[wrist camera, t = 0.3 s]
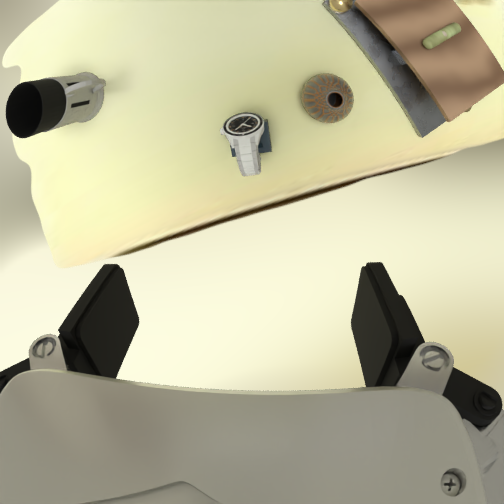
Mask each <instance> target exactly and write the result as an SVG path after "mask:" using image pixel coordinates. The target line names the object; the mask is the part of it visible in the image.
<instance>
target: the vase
mask: <svg viewBox="0 0 504 504" xmlns="http://www.w3.org/2000/svg"><path fill="white" fill-rule="evenodd" d="M353 102H354V98H353V93H352V90H351V88H350V86H349V85H348V84H347V83H346V82H345V81H344V80H343V79H342V78H340V77H338V76H336V75H333V74H319V75H316V76H314V77H312V78H311V79H310V80H308V81H307V83H306V84H305V86H304V87H303V90H302V103H303V106H304V108H305V110H306V111H307V113H308V114H309V115H310V116H311V117H313V118H314V119H316V120H318V121H321V122H325V123H334V122H338V121H340V120H342V119H344V118H345V117H346V116H347V115H348V114H349V113H350V111H351V109H352V107H353Z"/></svg>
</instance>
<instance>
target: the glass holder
mask: <svg viewBox="0 0 504 504" xmlns="http://www.w3.org/2000/svg"><path fill="white" fill-rule="evenodd" d="M105 85H106V83H105V80H104V79H99V78H98V77H97V76H95V75H94V74H92V73H88V72H83V73H79V74H77V75H74V76H62V77H51V78H44V79H41V80H36V81H29V82H23V83H21V84H19V85H17V86H16V87H15V88H14V89H13V91H12V92H11V94H10V96H9V98H8V101H7V105H6V119H7V124H8V126H9V128H10V130H11V132H12V133H13V134H14V135H15V136H17V137H19V138H27V137H30V136H33V135H35V134H38V133H41V132H47V131H50V130H53V129H56V128H59V127H62V126H65V125H68V124H71V123H74V122H86V121H89V120H91V119H92V118H94V117H95V116H96V115H97V113H98V112H99V110H100V109H101V107H102V104H103V99H104V89H103V87H104V86H105Z"/></svg>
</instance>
